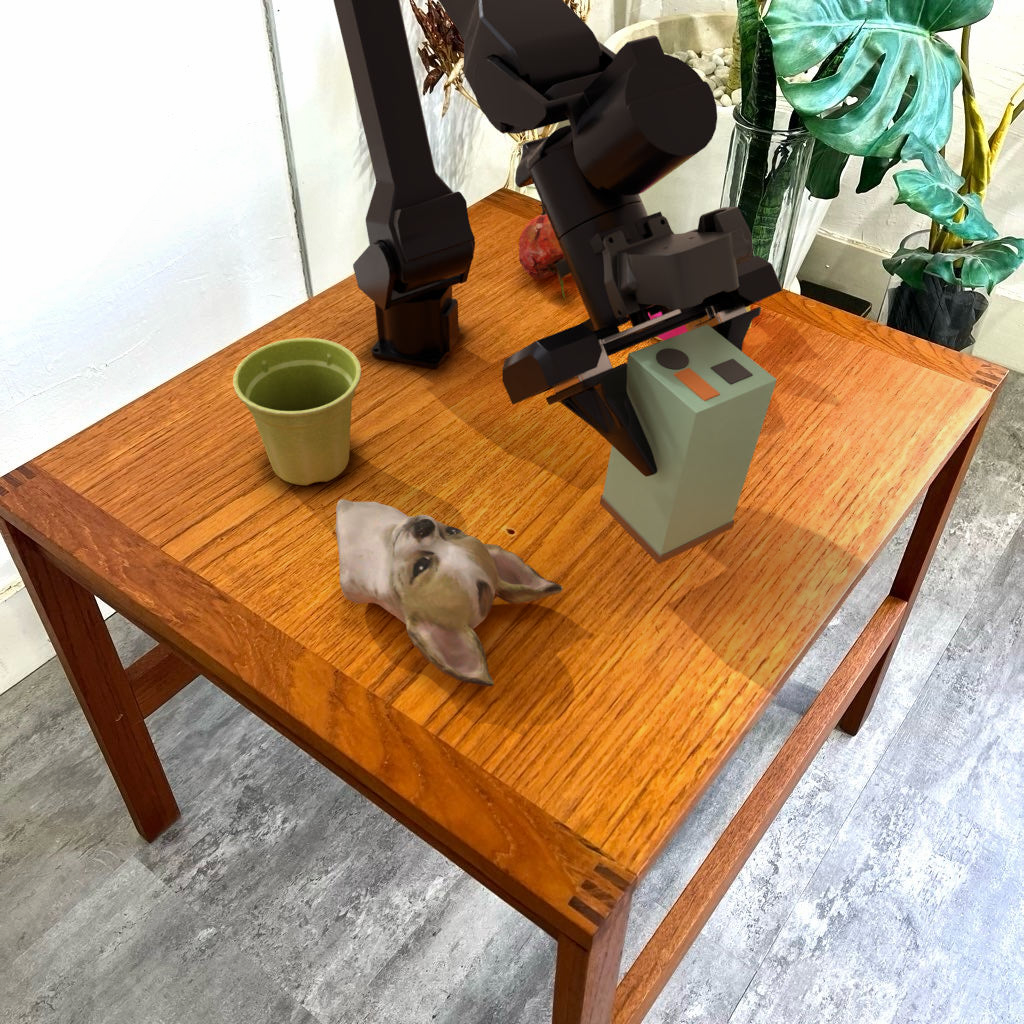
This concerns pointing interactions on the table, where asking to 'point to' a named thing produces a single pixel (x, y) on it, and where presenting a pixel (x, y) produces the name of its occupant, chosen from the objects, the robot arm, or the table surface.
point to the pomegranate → (540, 249)
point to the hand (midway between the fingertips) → (695, 453)
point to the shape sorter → (688, 440)
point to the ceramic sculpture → (431, 581)
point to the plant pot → (301, 405)
